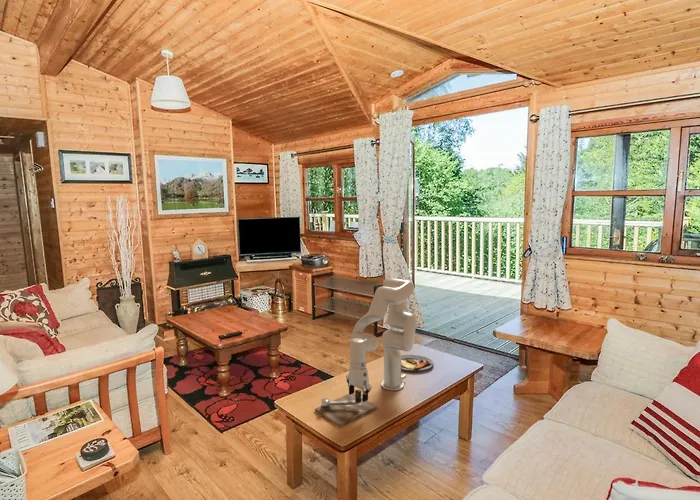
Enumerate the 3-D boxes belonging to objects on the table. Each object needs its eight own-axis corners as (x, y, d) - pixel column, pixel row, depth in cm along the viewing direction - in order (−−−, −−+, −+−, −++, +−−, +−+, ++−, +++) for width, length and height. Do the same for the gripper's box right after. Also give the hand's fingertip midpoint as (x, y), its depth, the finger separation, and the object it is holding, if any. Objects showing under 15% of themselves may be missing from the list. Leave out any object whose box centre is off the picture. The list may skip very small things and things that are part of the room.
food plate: (441, 367, 247) (441, 362, 246) (410, 377, 235) (410, 371, 235) (415, 355, 268) (415, 350, 268) (386, 363, 257) (386, 357, 257)
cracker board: (351, 395, 214) (351, 390, 214) (377, 408, 200) (377, 404, 200) (315, 411, 198) (314, 406, 198) (340, 427, 184) (340, 422, 184)
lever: (361, 402, 201) (360, 389, 200) (361, 407, 197) (361, 393, 196) (321, 404, 200) (321, 390, 199) (321, 408, 196) (321, 394, 195)
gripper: (376, 367, 192) (376, 401, 194) (351, 356, 205) (352, 388, 207) (364, 371, 187) (365, 406, 189) (340, 360, 200) (341, 393, 202)
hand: (358, 397), depth 198 cm, fingers open, 9 cm apart
